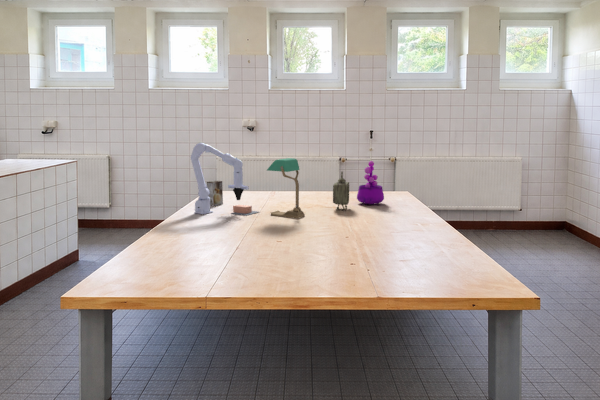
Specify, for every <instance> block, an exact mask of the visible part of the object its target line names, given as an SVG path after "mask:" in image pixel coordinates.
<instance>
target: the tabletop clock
mask: <svg viewBox="0 0 600 400" xmlns="http://www.w3.org/2000/svg"><path fill="white" fill-rule="evenodd" d="M343 177H344V171H343V170H342V171H340V178H339V179H338V180H337V182H334V184H333V185H332V203H333V204H334V205H337V207H336V209H337V210H339V209H340V205H341V207H342V211H346V209H347V208H348V204H349V202H350V182H349V181H346V179H345V178H343Z"/></svg>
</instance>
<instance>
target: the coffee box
mask: <svg viewBox="0 0 600 400" xmlns="http://www.w3.org/2000/svg"><path fill="white" fill-rule="evenodd" d="M206 185H207V188H208V189H209V191H210V194H209V195H208V196H209V197H210V206H215V207H216V206H219V205H223V204H224V198H223V197H224V195H223V181H222V180H209V181H206Z"/></svg>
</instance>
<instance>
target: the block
mask: <svg viewBox="0 0 600 400" xmlns="http://www.w3.org/2000/svg"><path fill="white" fill-rule="evenodd" d="M232 208H233V209H232V211H233V212H232V213H234V212H236V213H245V214H247V213H251V212H252V211H253V209H252V208H253V207H252V205H247V204H246V205H245V204H235V205H233V207H232Z"/></svg>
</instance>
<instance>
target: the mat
mask: <svg viewBox="0 0 600 400" xmlns="http://www.w3.org/2000/svg"><path fill="white" fill-rule="evenodd" d="M259 213H260V211H257V210H252V212H251V213H247V214H245V213H236V212H231V213H230V214H231V215H237V216H245V217H246V216H250V215H255V214H259Z"/></svg>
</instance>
